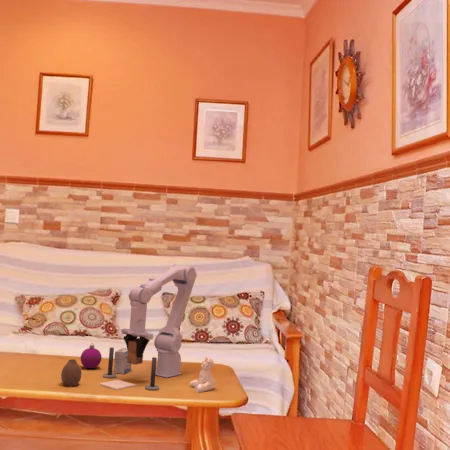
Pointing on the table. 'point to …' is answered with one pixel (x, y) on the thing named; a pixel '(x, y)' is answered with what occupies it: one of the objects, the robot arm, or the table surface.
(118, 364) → the medicine box
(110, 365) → the post
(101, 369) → the table surface
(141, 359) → the walnut block
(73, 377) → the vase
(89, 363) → the christmas ornament
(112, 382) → the white pad
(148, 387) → the post
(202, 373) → the seated beast figurine
